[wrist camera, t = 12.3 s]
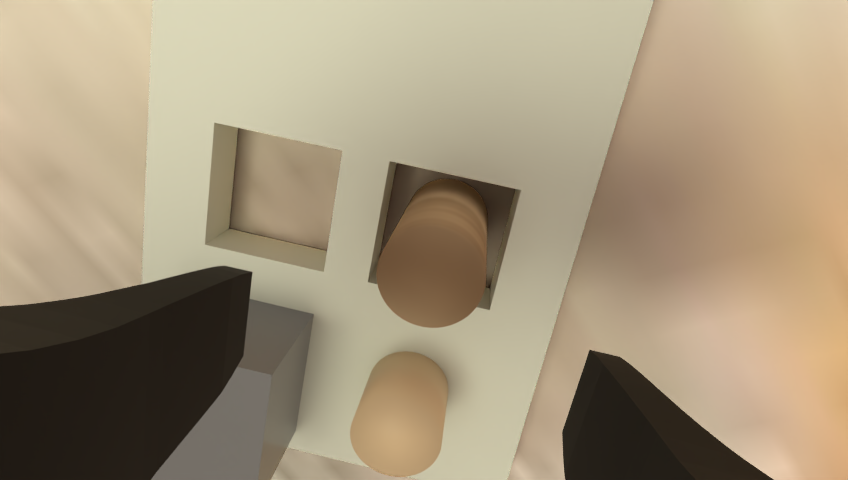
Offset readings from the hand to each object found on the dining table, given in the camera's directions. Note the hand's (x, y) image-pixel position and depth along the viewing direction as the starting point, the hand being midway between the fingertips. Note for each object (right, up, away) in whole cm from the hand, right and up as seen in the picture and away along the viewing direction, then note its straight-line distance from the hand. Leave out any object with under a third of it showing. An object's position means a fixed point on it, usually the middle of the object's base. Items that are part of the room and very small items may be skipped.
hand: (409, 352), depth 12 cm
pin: (+1, +3, +9) cm, 10 cm away
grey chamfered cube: (-7, -2, +10) cm, 12 cm away
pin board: (-2, +4, +9) cm, 10 cm away
